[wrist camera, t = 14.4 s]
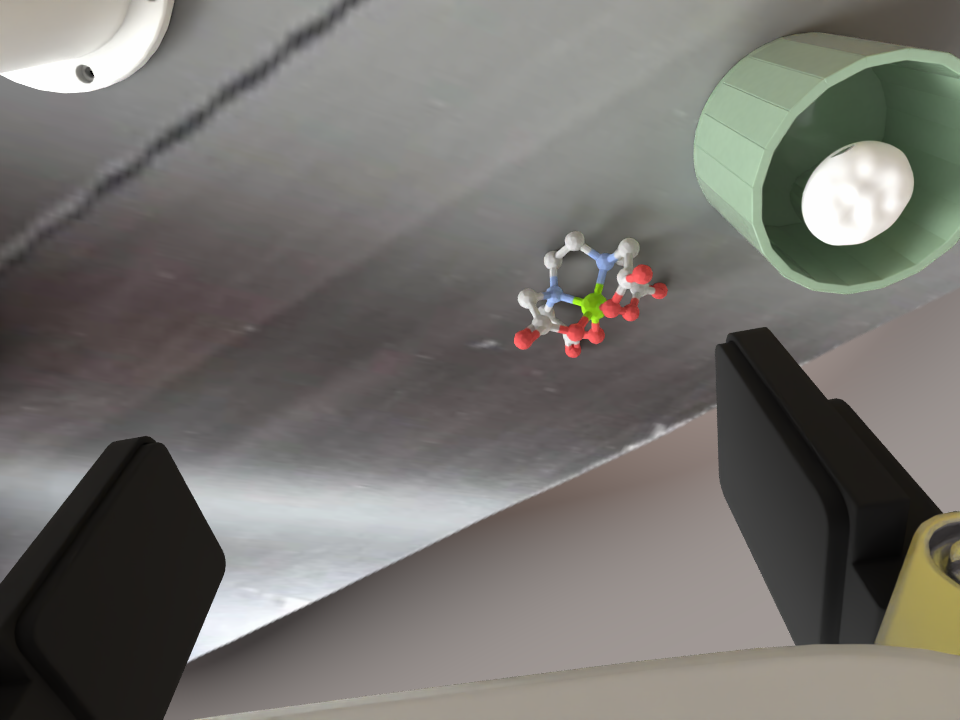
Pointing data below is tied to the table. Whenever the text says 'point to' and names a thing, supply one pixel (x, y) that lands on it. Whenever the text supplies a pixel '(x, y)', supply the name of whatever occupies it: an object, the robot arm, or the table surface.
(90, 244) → the table surface
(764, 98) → the pen holder
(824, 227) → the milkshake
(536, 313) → the molecular model
